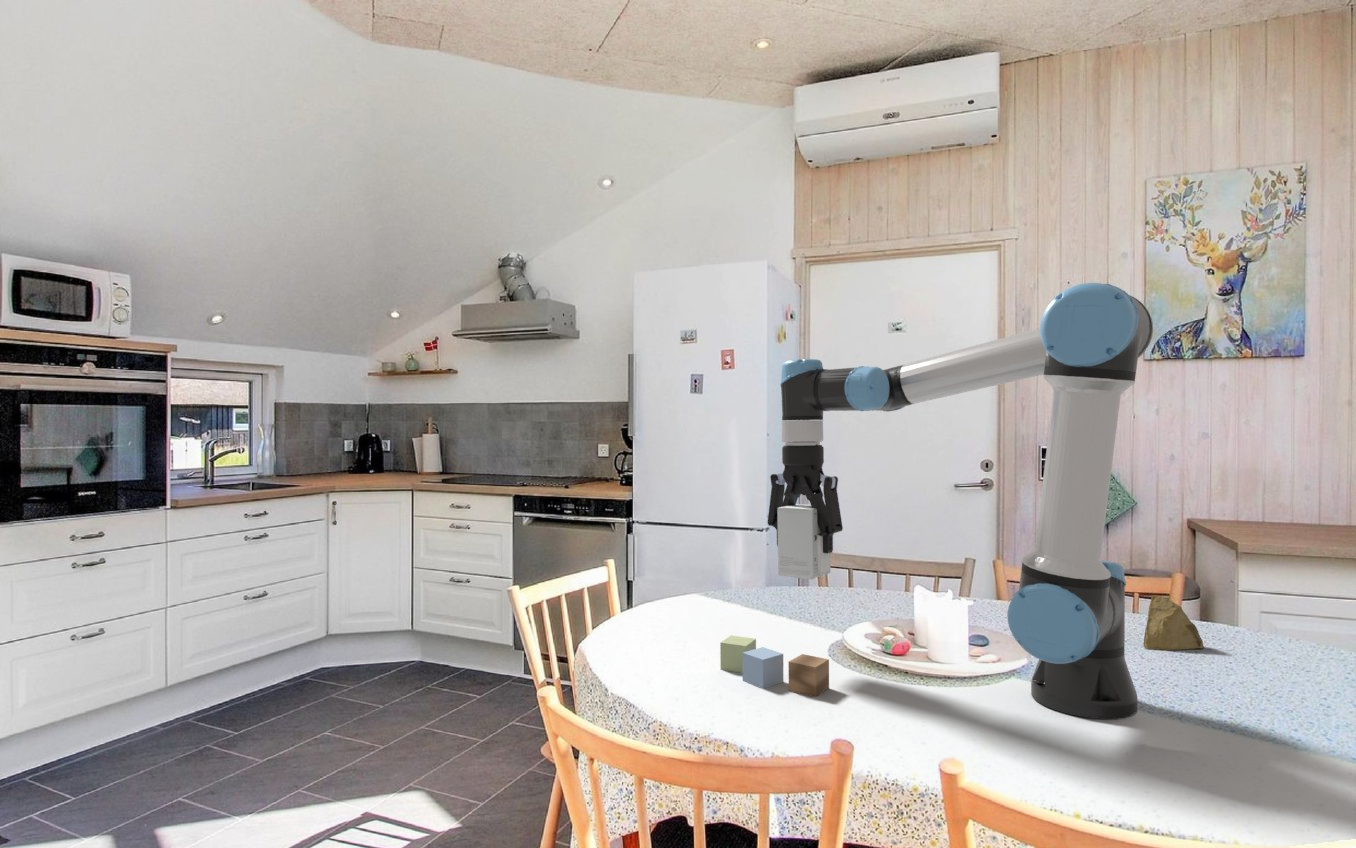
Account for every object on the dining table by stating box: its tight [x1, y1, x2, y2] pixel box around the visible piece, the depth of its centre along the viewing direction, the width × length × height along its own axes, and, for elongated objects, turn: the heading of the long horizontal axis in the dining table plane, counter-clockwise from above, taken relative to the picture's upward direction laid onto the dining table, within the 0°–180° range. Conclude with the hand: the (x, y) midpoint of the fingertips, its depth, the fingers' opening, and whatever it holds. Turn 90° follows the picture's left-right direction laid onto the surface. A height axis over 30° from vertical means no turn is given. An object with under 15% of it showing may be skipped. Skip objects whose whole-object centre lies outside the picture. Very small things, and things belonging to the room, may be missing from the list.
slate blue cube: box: [742, 646, 784, 689], centre depth 134 cm, size 5×5×5 cm
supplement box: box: [777, 503, 831, 580], centre depth 141 cm, size 7×7×13 cm
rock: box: [1143, 594, 1205, 651], centre depth 151 cm, size 11×9×10 cm
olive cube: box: [719, 635, 757, 674], centre depth 142 cm, size 5×5×5 cm
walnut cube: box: [788, 653, 830, 698], centre depth 130 cm, size 5×5×5 cm
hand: (804, 567), depth 142 cm, fingers closed on supplement box, 8 cm apart
